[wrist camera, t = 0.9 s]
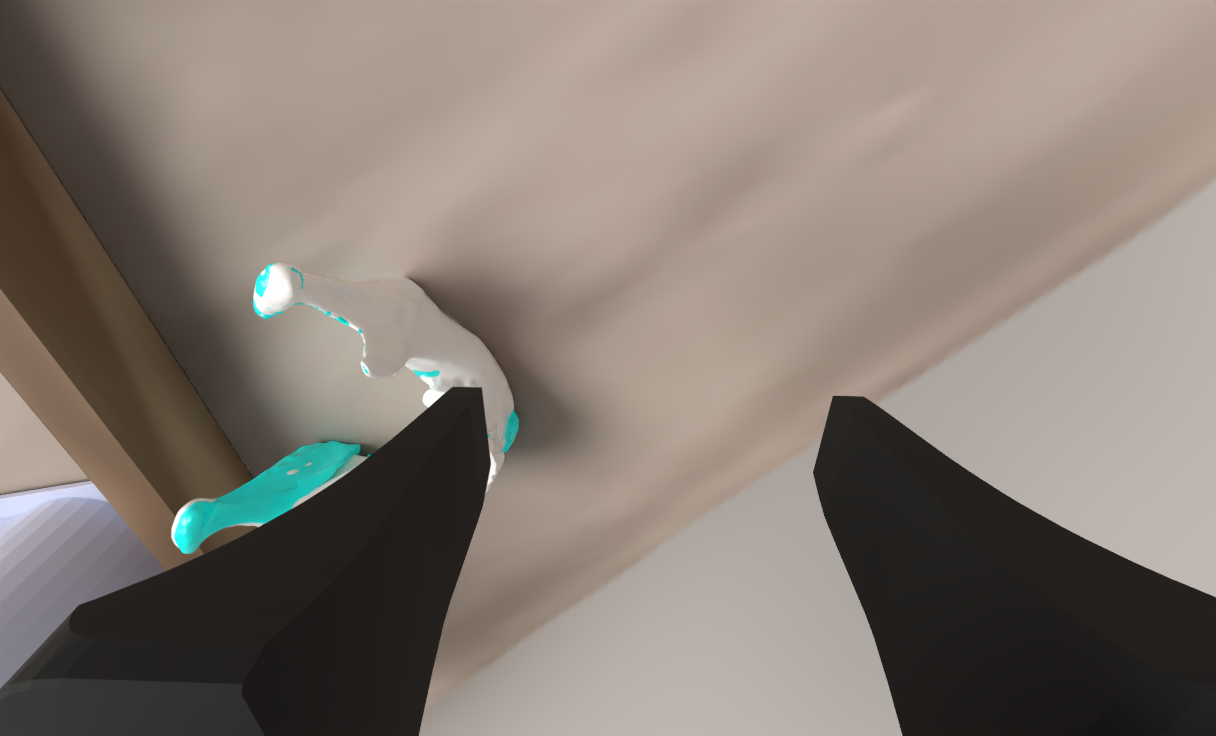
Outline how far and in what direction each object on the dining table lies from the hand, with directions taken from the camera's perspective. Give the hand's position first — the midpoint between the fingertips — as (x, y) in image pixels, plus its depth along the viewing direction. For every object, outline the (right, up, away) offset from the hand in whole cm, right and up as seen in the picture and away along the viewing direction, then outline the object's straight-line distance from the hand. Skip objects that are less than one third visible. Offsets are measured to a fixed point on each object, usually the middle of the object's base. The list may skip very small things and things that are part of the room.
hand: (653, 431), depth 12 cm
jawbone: (-9, +1, +12) cm, 15 cm away
